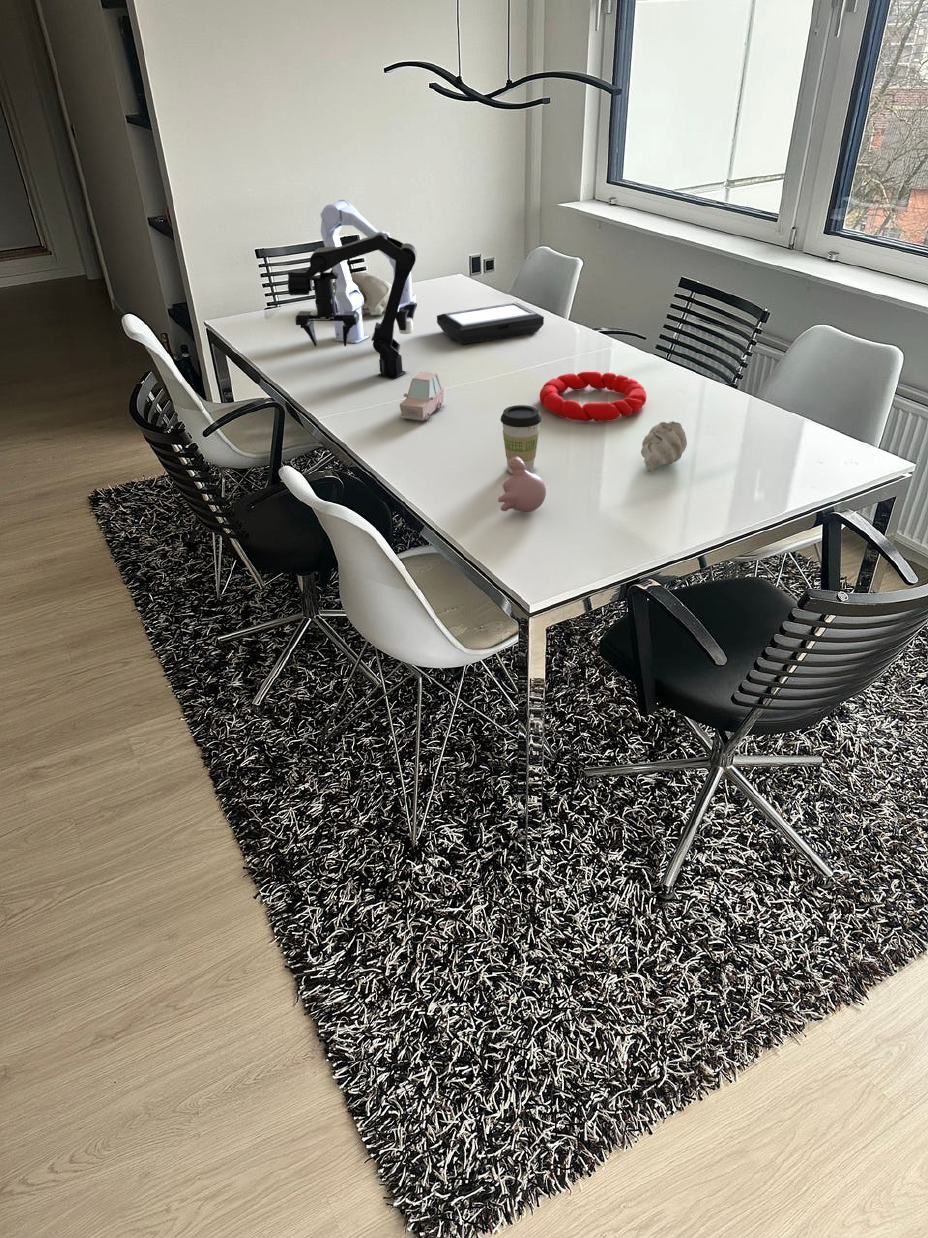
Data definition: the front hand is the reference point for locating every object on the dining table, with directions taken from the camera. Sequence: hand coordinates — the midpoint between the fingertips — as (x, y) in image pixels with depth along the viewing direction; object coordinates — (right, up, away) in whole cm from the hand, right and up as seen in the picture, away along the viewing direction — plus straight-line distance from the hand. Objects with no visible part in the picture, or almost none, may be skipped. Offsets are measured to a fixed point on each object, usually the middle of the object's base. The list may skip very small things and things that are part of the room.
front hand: (330, 346), depth 275 cm
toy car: (+30, -26, -23) cm, 46 cm away
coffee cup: (+55, -48, -55) cm, 91 cm away
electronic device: (+51, +17, +39) cm, 66 cm away
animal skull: (+4, +34, +65) cm, 74 cm away
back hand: (+21, +15, +27) cm, 38 cm away
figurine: (+54, -60, -73) cm, 109 cm away
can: (+22, +13, +28) cm, 38 cm away
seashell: (+90, -46, -54) cm, 115 cm away
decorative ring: (+78, -23, -20) cm, 84 cm away
